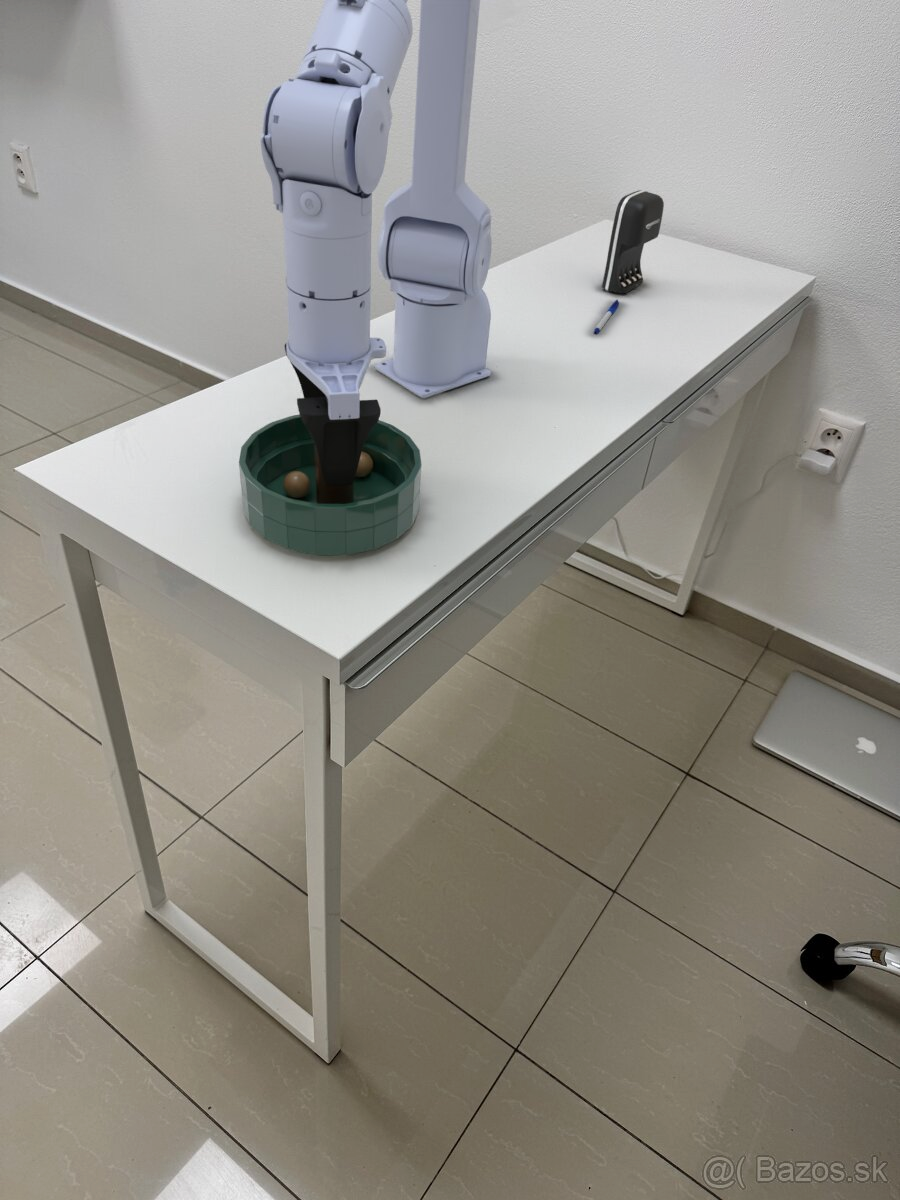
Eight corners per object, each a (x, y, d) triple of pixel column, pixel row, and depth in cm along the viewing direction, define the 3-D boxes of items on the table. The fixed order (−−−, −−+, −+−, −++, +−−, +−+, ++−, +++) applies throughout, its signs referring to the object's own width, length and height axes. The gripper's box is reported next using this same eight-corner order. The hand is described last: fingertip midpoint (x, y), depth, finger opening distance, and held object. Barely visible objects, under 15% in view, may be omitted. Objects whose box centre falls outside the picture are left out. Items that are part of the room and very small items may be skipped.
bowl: (350, 446, 79) (350, 396, 76) (452, 520, 71) (457, 468, 68) (212, 496, 71) (205, 443, 68) (309, 585, 64) (307, 530, 61)
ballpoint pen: (612, 304, 110) (613, 296, 109) (619, 306, 109) (620, 298, 109) (592, 335, 102) (594, 326, 101) (599, 336, 102) (601, 328, 101)
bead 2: (367, 470, 72) (379, 475, 74) (362, 445, 72) (375, 451, 74) (344, 478, 73) (357, 482, 75) (339, 453, 73) (353, 458, 75)
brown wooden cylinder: (329, 516, 69) (327, 422, 64) (309, 498, 71) (306, 404, 66) (360, 505, 71) (361, 411, 65) (340, 487, 73) (339, 395, 67)
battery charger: (625, 299, 111) (645, 204, 103) (599, 290, 112) (617, 196, 105) (650, 285, 115) (671, 193, 108) (625, 276, 117) (644, 186, 109)
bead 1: (301, 465, 71) (294, 465, 69) (318, 486, 72) (312, 487, 69) (281, 482, 72) (274, 483, 70) (298, 503, 72) (292, 504, 70)
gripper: (407, 327, 55) (399, 505, 64) (368, 245, 65) (366, 408, 74) (294, 330, 53) (302, 512, 62) (273, 246, 64) (283, 412, 73)
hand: (331, 456), depth 68 cm, fingers open, 7 cm apart
